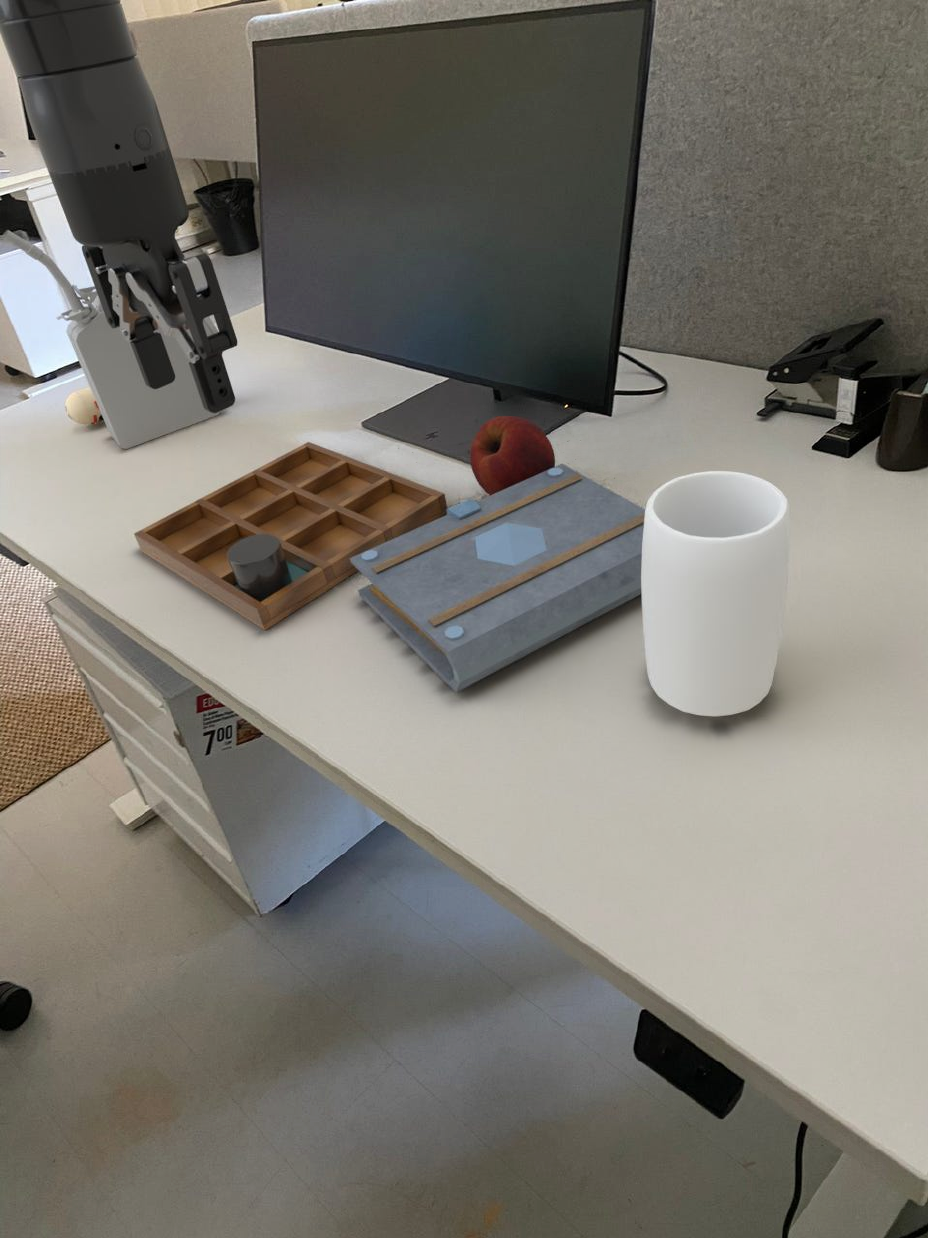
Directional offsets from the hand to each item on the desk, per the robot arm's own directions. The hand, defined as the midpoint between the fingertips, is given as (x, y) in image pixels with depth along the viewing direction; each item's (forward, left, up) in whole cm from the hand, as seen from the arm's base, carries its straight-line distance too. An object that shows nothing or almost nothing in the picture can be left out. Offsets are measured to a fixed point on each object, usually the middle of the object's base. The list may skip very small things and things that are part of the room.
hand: (190, 396), depth 64 cm
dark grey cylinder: (0, -2, -17) cm, 17 cm away
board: (+7, +5, -18) cm, 20 cm away
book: (+13, -19, -18) cm, 29 cm away
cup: (+11, -37, -18) cm, 43 cm away
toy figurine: (+12, +50, -18) cm, 55 cm away
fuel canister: (+12, +40, -18) cm, 46 cm away
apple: (+23, -9, -18) cm, 31 cm away
